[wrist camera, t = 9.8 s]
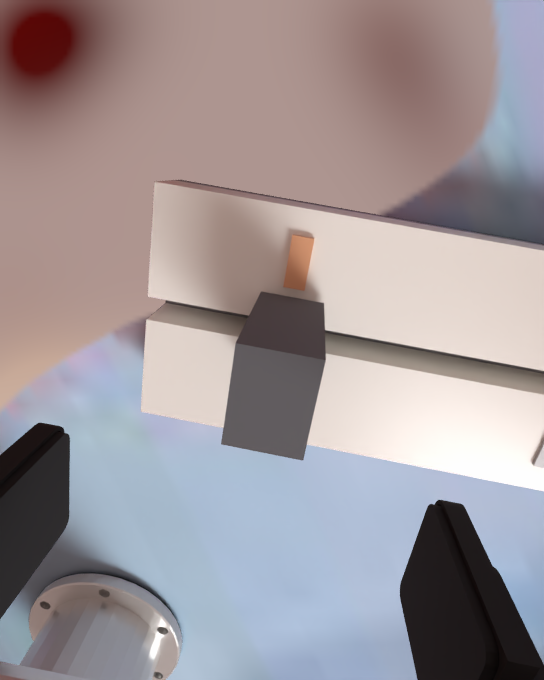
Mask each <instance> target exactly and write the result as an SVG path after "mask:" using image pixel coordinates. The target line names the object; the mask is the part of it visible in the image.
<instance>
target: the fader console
mask: <svg viewBox="0 0 544 680" xmlns="http://www.w3.org/2000/svg"><path fill="white" fill-rule="evenodd" d="M149 264H150V265H149V281H148V297H152V298H157V299H163V300H166V303H165V304H164V305H163V306H161V307H160V308H159V309H158V310H157V311H156V312H154V313H153V314H152V315H151V316H150V317H149V318H147V319H146V332H145V349H144V366H143V383H142V400H141V412H145V413H150V414H155V415H160V416H165V417H170V418H176V419H181V420H186V421H191V422H196V423H201V424H206V425H211V426H216V427H221V428H224V421H225V414H226V407H227V400H228V393H229V386H230V379H231V372H232V365H233V358H234V351H235V344H236V341H237V339H238V337H239V335H240V333H241V331H242V329H243V327H244V325H245V323H246V321H247V319H248V317H249V315H250V313H251V311H252V309H253V307H254V305H255V303H256V301H257V299H258V297H259V294H260V292H261V291H262V292H267V293H273V294H278V295H283V296H289V297H294V298H300V299H305V300H310V301H316V302H321V303H324V316H325V350H326V362H325V366H324V370H323V375H322V379H321V383H320V388H319V392H318V397H317V401H316V405H315V410H314V414H313V419H312V423H311V427H310V432H309V436H308V441H307V445H312V446H317V447H323V448H328V449H333V450H338V451H343V452H348V453H353V454H358V455H363V456H368V457H373V458H378V459H383V460H388V461H393V462H399V463H404V464H409V465H414V466H419V467H424V468H429V469H434V470H439V471H444V472H449V473H454V474H459V475H464V476H469V477H475V478H480V479H485V480H490V481H495V482H500V483H505V484H510V485H515V486H520V487H525V488H530V489H535V490H540V491H544V244H540V243H534V242H528V241H523V240H517V239H511V238H506V237H500V236H494V235H489V234H483V233H478V232H472V231H466V230H461V229H455V228H449V227H444V226H438V225H432V224H427V223H421V222H415V221H410V220H404V219H399V218H393V217H387V216H382V215H376V214H370V213H365V212H359V211H353V210H348V209H342V208H336V207H331V206H325V205H319V204H314V203H308V202H303V201H296V200H291V199H286V198H280V197H274V196H268V195H263V194H257V193H252V192H246V191H240V190H235V189H229V188H223V187H218V186H212V185H207V184H201V183H195V182H189V181H184V180H171V181H156V182H154V195H153V213H152V229H151V246H150V263H149Z"/></svg>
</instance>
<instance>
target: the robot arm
mask: <svg viewBox="0 0 544 680" xmlns="http://www.w3.org/2000/svg"><path fill="white" fill-rule="evenodd" d="M69 461H70V438H69V435H68V434H66V433H64V429H63V428H62V427H61V426H55V425H50V424H45V423H38V424H36V425H35V426H34V427H32V428H31V429H30V430H29V431H28V432H27V433H25V434H24V435H23V436H22V437H21V438H20V439H18V440H17V441H16V442H15V443H14V444H13V445H11V446H10V447H9V448H8V449H7V450H6V451H5V452H3V453H2V454H1V455H0V619H1V617H2V616H3V615H4V613H5V612H6V610H7V609H8V608H9V606H10V605H11V603H12V602H13V601H14V599H15V598H16V597H17V595H18V594H19V592H20V591H21V590H22V588H23V587H24V585H25V584H26V583H27V581H28V580H29V578H30V577H31V576H32V574H33V573H34V572H35V570H36V569H37V567H38V566H39V565H40V563H41V562H42V560H43V559H44V558H45V556H46V555H47V553H48V552H49V551H50V549H51V548H52V547H53V545H54V544H55V542H56V541H57V540H58V538H59V537H60V535H61V534H62V533H63V531H64V530H65V528H66V525H67V523H68V519H69ZM400 599H401V604H402V608H403V613H404V618H405V622H406V627H407V632H408V636H409V641H410V646H411V651H412V655H413V660H414V665H415V669H416V674H417V679H418V680H544V665H543V662H542V660H541V658H540V656H539V654H538V652H537V650H536V648H535V646H534V644H533V642H532V640H531V638H530V635H529V633H528V631H527V629H526V627H525V625H524V623H523V621H522V619H521V617H520V615H519V613H518V611H517V608H516V606H515V604H514V602H513V600H512V598H511V596H510V594H509V592H508V590H507V588H506V586H505V584H504V581H503V579H502V577H501V575H500V574H499V572H498V571H497V569H495V568H494V567H493V566H492V564H491V562H490V560H489V558H488V556H487V554H486V552H485V549H484V547H483V545H482V543H481V541H480V539H479V537H478V535H477V533H476V530H475V528H474V526H473V524H472V522H471V520H470V518H469V516H468V513H467V511H466V509H465V507H464V506H463V505H462V504H459V503H454V502H448V501H443V500H438V501H437V502H436V503H435V505H433V504H430V505H429V506H428V508H427V510H426V513H425V516H424V519H423V521H422V524H421V527H420V530H419V533H418V536H417V538H416V541H415V544H414V547H413V550H412V553H411V555H410V558H409V561H408V564H407V567H406V570H405V572H404V575H403V578H402V581H401V585H400ZM29 629H30V632H31V636H32V639H33V641H34V642H33V643H32V645H31V647H30V648H29V650H28V652H27V653H26V655H25V657H24V658H23V660H22V661H21V663H20V665H16V664H11V663H6V662H0V680H165V679H166V678H168V677H169V676H170V675H171V674H172V672H173V671H174V669H175V668H176V666H177V663H178V660H179V657H180V653H181V649H182V635H181V630H180V628H179V625H178V623H177V621H176V619H175V618H174V616H173V615H172V613H171V612H170V610H169V609H168V608H167V607H166V606H165V605H164V604H163V603H162V602H161V601H160V600H159V599H158V598H157V597H155V596H154V595H153V594H151V593H150V592H149V591H147V590H145V589H143V588H142V587H140V586H138V585H136V584H134V583H132V582H129V581H126V580H124V579H121V578H117V577H113V576H109V575H104V574H94V573H88V574H75V575H71V576H66V577H63V578H61V579H58V580H56V581H54V582H52V583H51V584H50V585H48V586H47V587H46V588H45V589H44V590H43V591H42V593H41V594H40V595H39V597H38V598H37V600H36V601H35V603H34V605H33V606H32V608H31V611H30V615H29Z"/></svg>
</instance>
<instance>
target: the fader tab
mask: <svg viewBox="0 0 544 680" xmlns="http://www.w3.org/2000/svg"><path fill="white" fill-rule="evenodd" d="M325 362H326V350H325V316H324V303H321V302H316V301H310V300H305V299H300V298H294V297H289V296H283V295H278V294H273V293H267V292H262V291H261V292H260V294H259V297H258V299H257V301H256V303H255V305H254V307H253V309H252V311H251V313H250V315H249V317H248V319H247V321H246V323H245V325H244V327H243V329H242V331H241V333H240V335H239V337H238V339H237V341H236V344H235V351H234V358H233V365H232V372H231V379H230V386H229V393H228V400H227V407H226V414H225V421H224V428H223V435H222V442H221V444H223V445H228V446H233V447H238V448H243V449H248V450H253V451H258V452H263V453H268V454H273V455H278V456H283V457H288V458H293V459H298V460H303V458H304V454H305V449H306V445H307V441H308V436H309V432H310V427H311V423H312V419H313V414H314V410H315V405H316V401H317V397H318V392H319V388H320V383H321V379H322V375H323V370H324V366H325Z"/></svg>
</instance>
